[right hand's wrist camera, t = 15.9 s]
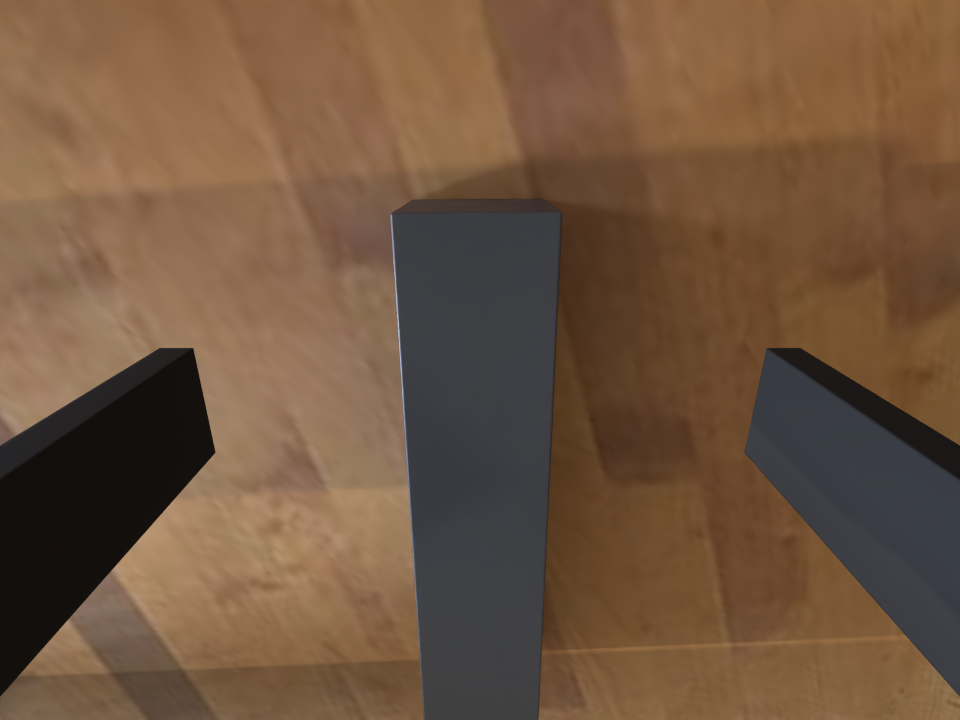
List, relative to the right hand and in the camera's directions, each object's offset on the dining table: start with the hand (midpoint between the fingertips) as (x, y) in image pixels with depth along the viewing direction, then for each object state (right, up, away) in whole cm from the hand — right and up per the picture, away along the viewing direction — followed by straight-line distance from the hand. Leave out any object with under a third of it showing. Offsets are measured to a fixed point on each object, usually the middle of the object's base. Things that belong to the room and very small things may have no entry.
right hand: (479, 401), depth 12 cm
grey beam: (0, -5, +17) cm, 17 cm away
